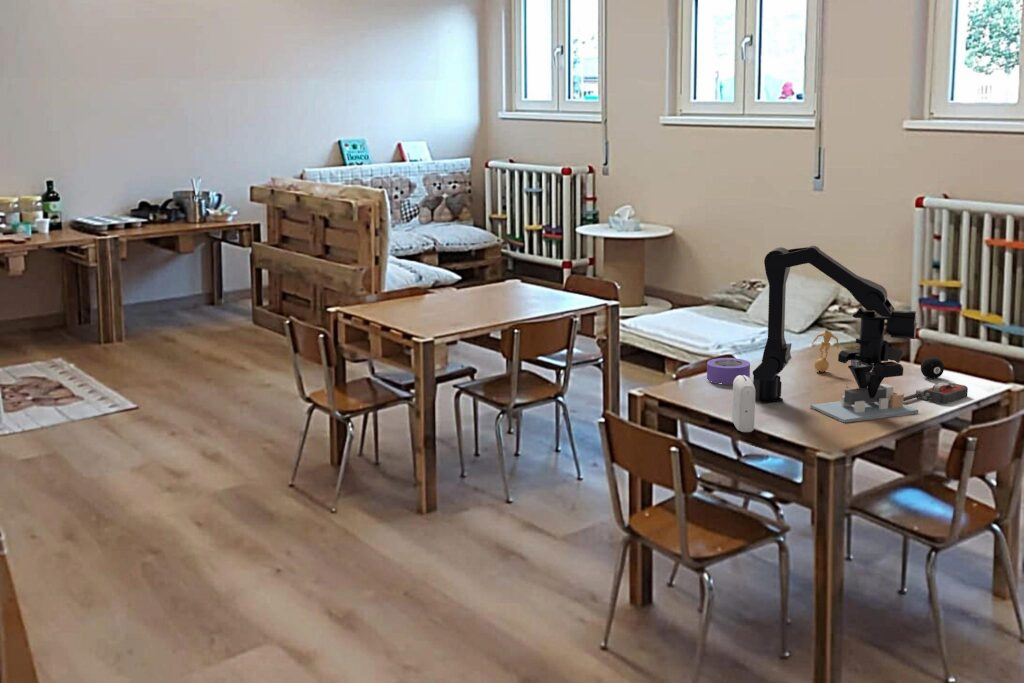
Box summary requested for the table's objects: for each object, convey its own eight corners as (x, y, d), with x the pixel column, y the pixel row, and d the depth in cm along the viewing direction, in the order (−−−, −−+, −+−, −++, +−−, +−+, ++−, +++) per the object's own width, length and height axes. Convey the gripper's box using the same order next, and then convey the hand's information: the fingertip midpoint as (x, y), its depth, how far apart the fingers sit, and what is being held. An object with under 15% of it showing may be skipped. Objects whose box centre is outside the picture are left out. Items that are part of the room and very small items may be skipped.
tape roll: (706, 384, 312) (706, 367, 311) (706, 374, 324) (707, 357, 323) (750, 386, 310) (750, 368, 309) (749, 375, 322) (749, 358, 320)
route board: (843, 422, 276) (844, 409, 275) (810, 407, 289) (810, 394, 288) (917, 412, 283) (918, 399, 282) (881, 398, 296) (882, 386, 295)
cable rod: (852, 405, 282) (852, 391, 281) (843, 401, 285) (844, 388, 285) (892, 399, 286) (893, 386, 286) (883, 396, 289) (884, 383, 289)
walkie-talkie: (941, 390, 304) (897, 404, 293) (942, 374, 303) (898, 387, 292) (971, 397, 298) (928, 411, 286) (972, 381, 297) (929, 394, 285)
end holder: (892, 408, 285) (892, 395, 284) (874, 401, 291) (875, 389, 290) (902, 406, 286) (903, 394, 285) (885, 399, 292) (886, 387, 291)
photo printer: (755, 432, 269) (757, 382, 266) (737, 432, 269) (739, 382, 266) (747, 420, 279) (749, 371, 276) (730, 420, 279) (731, 371, 276)
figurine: (804, 370, 325) (806, 329, 322) (815, 366, 329) (817, 326, 327) (831, 375, 319) (833, 334, 317) (841, 371, 324) (843, 330, 321)
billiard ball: (926, 381, 312) (927, 360, 311) (916, 375, 318) (917, 355, 317) (946, 380, 313) (948, 359, 312) (936, 375, 319) (938, 354, 317)
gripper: (923, 340, 276) (919, 402, 280) (874, 325, 293) (871, 384, 297) (885, 344, 272) (881, 407, 276) (838, 329, 289) (835, 388, 293)
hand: (867, 396), depth 285 cm, fingers closed on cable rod, 3 cm apart
